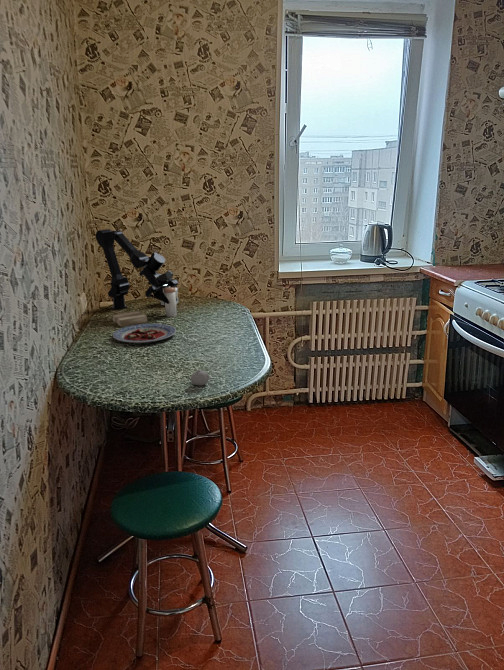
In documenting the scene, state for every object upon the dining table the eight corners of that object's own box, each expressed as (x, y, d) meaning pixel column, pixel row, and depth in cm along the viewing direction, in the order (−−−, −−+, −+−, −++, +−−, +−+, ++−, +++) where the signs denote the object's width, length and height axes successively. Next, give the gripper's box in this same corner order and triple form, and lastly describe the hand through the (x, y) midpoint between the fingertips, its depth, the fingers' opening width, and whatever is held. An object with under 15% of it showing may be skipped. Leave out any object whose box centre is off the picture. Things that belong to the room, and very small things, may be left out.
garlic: (196, 389, 168) (195, 373, 167) (187, 384, 172) (187, 368, 171) (212, 384, 172) (212, 369, 170) (204, 379, 176) (203, 364, 174)
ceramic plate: (163, 348, 209) (163, 341, 208) (102, 345, 214) (101, 338, 213) (184, 329, 233) (184, 322, 232) (129, 327, 238) (128, 321, 237)
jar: (163, 315, 256) (161, 288, 252) (174, 313, 259) (172, 286, 255) (168, 317, 252) (166, 290, 248) (178, 315, 254) (177, 288, 250)
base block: (113, 321, 248) (112, 314, 247) (137, 317, 254) (137, 310, 253) (121, 326, 238) (121, 320, 237) (147, 322, 244) (146, 316, 243)
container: (176, 305, 274) (174, 280, 270) (161, 305, 274) (159, 280, 270) (178, 302, 281) (176, 277, 277) (163, 302, 281) (161, 277, 278)
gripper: (147, 269, 243) (168, 295, 240) (174, 262, 258) (193, 287, 256) (136, 284, 249) (156, 310, 247) (162, 277, 264) (181, 301, 262)
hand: (172, 302), depth 252 cm, fingers closed on jar, 5 cm apart
